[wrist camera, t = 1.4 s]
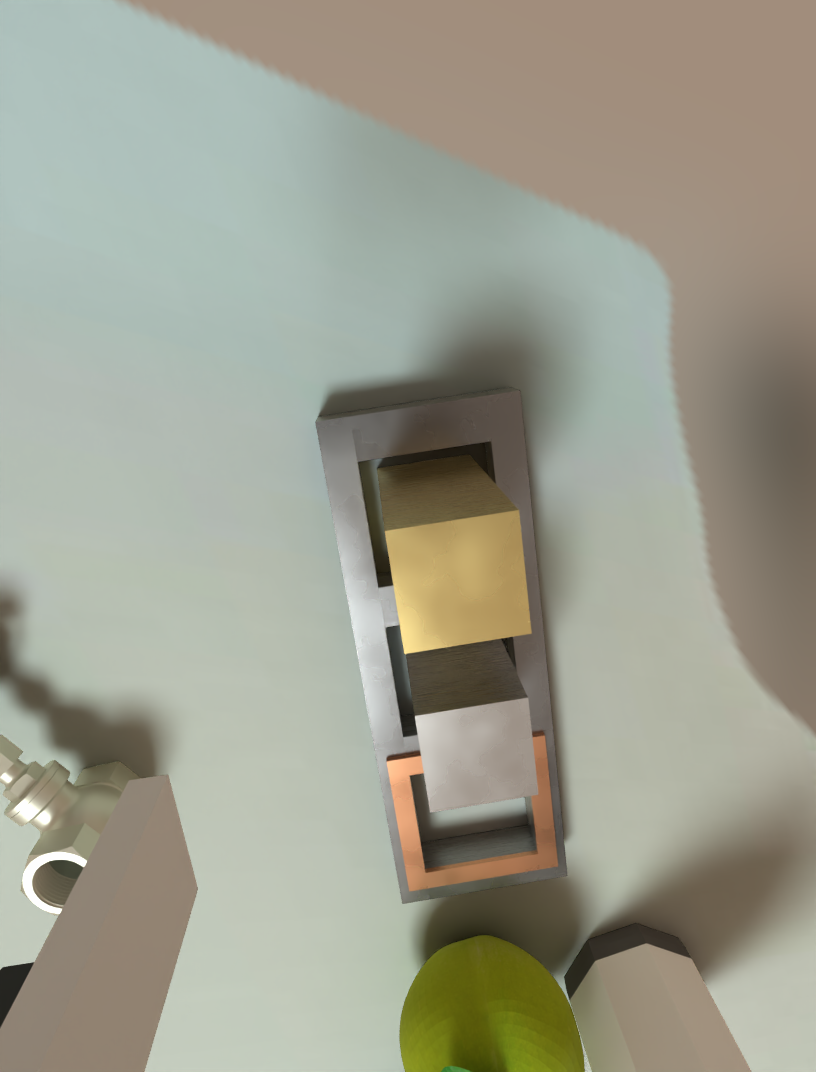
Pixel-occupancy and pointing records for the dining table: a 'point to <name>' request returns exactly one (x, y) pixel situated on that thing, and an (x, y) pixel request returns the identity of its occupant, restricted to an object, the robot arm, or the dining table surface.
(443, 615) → the brass block
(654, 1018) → the wine bottle
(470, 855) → the grey compartment tray
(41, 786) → the valve
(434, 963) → the fruit
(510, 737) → the grey rectangular block
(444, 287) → the dining table surface
